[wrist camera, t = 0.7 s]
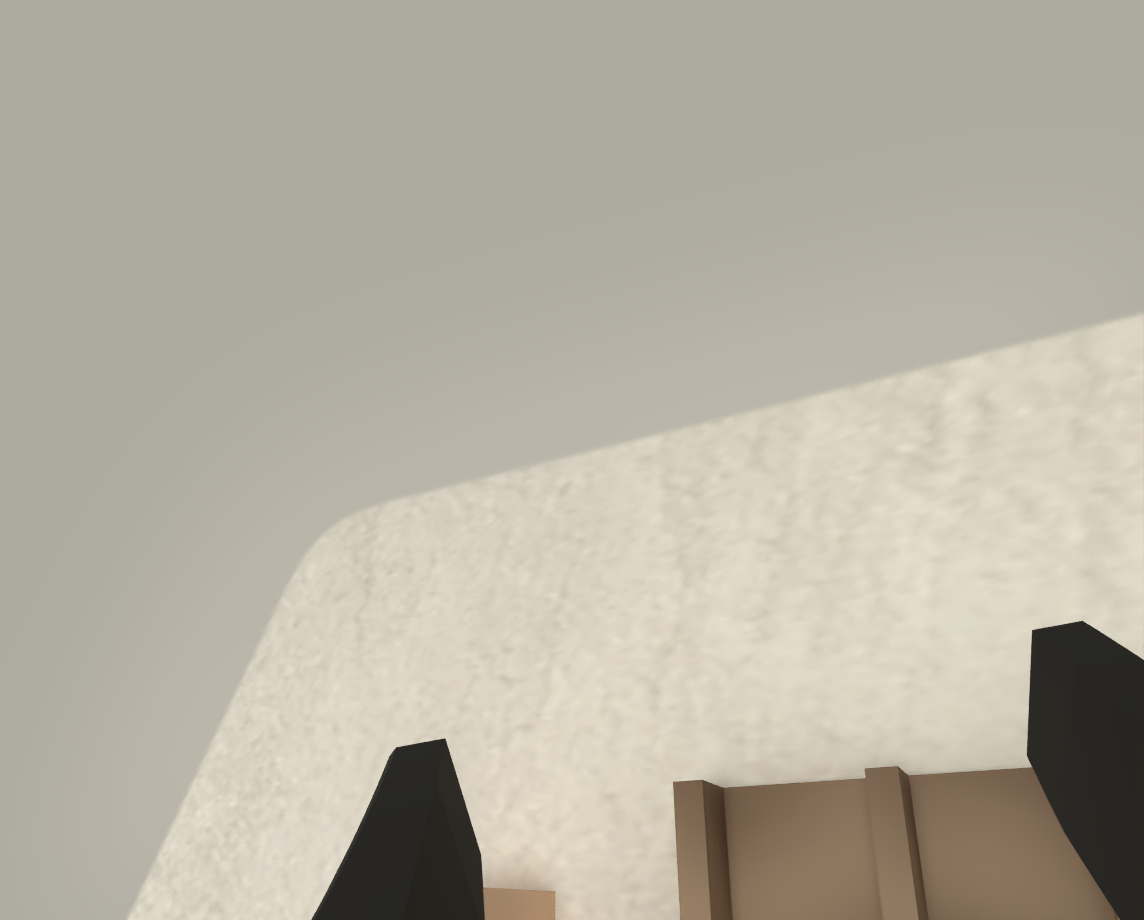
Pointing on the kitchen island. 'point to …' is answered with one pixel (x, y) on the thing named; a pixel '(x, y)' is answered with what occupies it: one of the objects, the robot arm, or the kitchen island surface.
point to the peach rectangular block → (518, 904)
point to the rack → (880, 850)
